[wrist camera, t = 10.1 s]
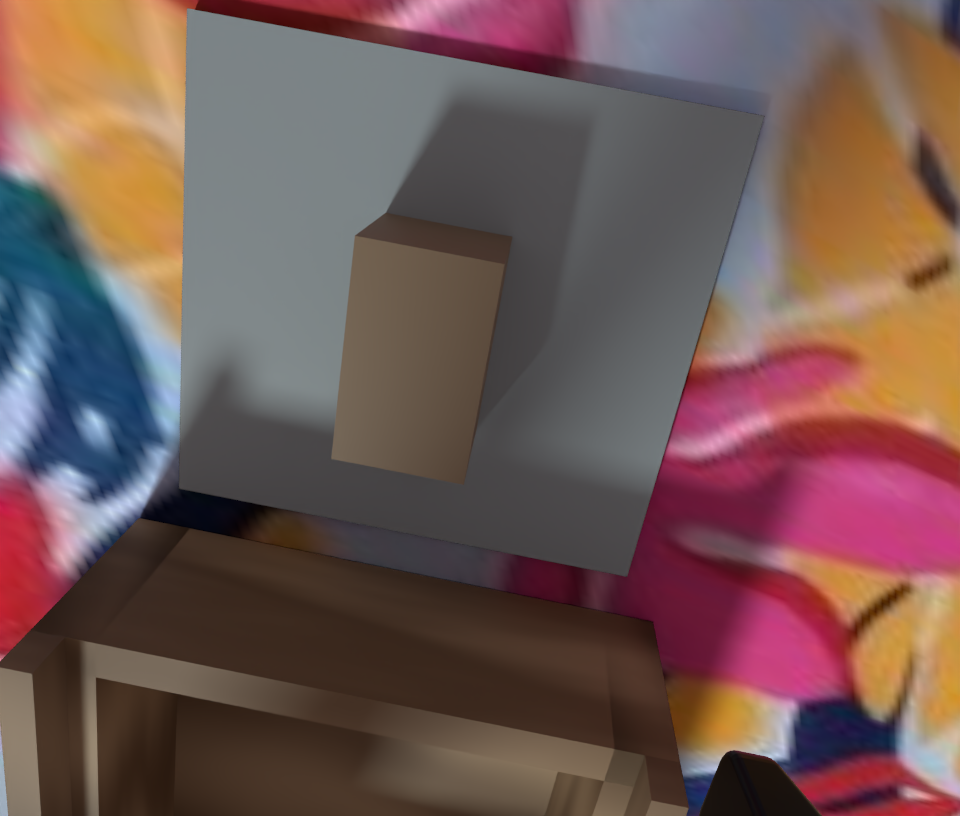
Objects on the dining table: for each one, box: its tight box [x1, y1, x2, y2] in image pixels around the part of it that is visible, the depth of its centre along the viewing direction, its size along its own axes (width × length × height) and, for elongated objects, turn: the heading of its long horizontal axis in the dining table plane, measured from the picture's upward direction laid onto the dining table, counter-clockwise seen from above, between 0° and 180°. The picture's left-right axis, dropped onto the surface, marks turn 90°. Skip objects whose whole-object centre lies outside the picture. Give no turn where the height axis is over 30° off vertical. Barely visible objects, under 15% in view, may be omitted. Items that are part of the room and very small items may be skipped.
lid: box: [179, 8, 764, 577], centre depth 18 cm, size 12×13×4 cm
